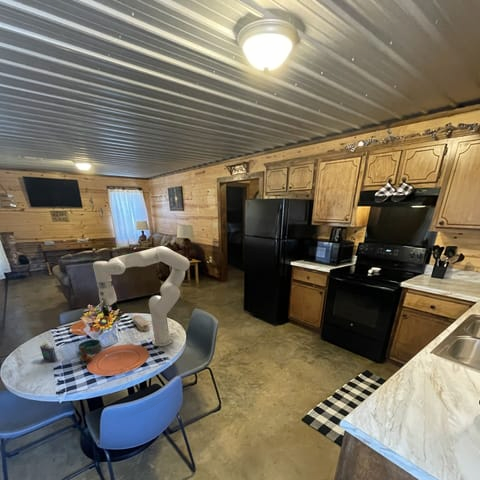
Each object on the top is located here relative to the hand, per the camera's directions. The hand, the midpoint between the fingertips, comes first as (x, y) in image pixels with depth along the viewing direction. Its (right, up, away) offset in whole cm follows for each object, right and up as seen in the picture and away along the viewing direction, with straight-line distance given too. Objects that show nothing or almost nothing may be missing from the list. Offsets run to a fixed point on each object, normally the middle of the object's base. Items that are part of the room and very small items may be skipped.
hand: (110, 313), depth 150 cm
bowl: (-19, -23, +13) cm, 33 cm away
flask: (-37, -28, +3) cm, 46 cm away
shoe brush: (0, -6, +47) cm, 47 cm away
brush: (-15, -28, +1) cm, 32 cm away
